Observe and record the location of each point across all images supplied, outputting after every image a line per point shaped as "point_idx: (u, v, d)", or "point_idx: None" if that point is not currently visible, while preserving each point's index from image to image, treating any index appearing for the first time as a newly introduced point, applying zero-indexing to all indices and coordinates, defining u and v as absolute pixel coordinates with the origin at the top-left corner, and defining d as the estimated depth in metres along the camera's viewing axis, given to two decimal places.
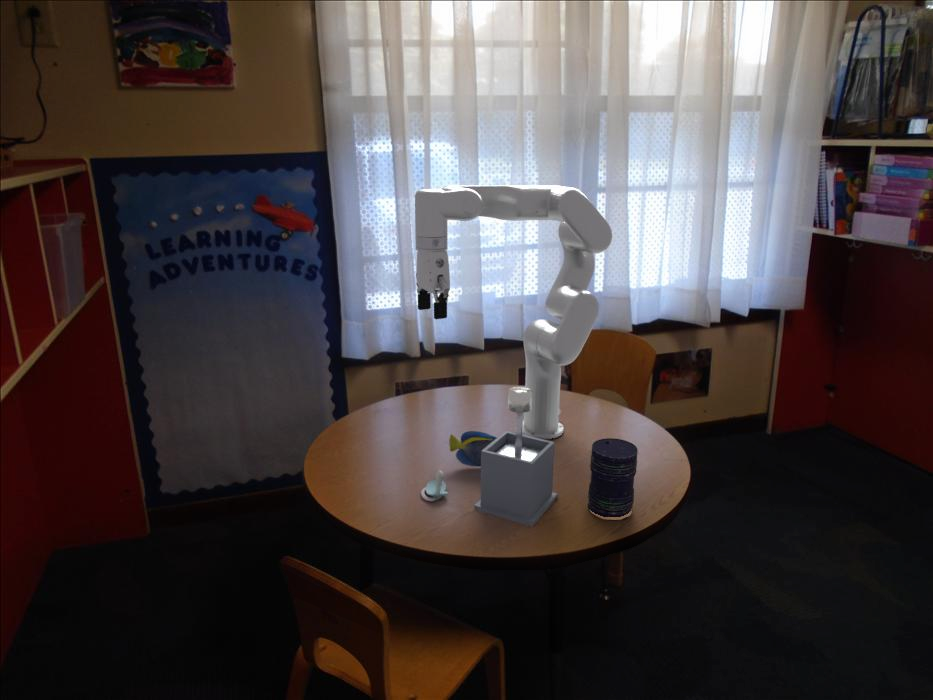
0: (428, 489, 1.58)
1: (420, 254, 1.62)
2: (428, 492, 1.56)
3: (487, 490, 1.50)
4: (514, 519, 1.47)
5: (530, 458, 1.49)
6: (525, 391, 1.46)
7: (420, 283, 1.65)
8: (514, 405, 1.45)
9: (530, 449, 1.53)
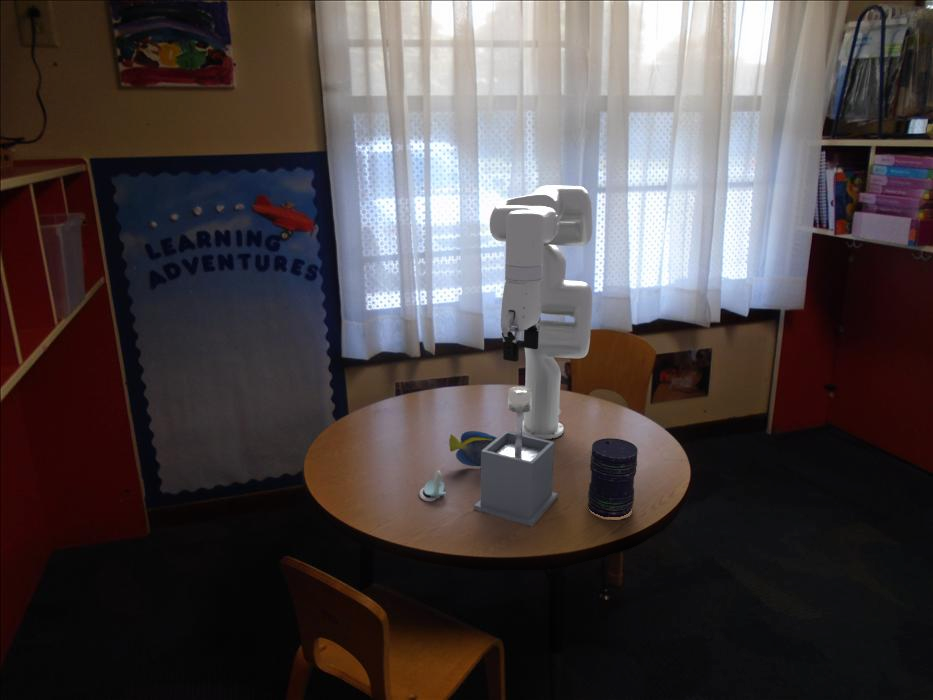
0: (426, 489, 1.58)
1: (533, 287, 1.37)
2: (426, 492, 1.56)
3: (487, 490, 1.50)
4: (514, 519, 1.47)
5: (530, 458, 1.49)
6: (525, 391, 1.46)
7: (527, 323, 1.39)
8: (514, 405, 1.45)
9: (530, 449, 1.53)
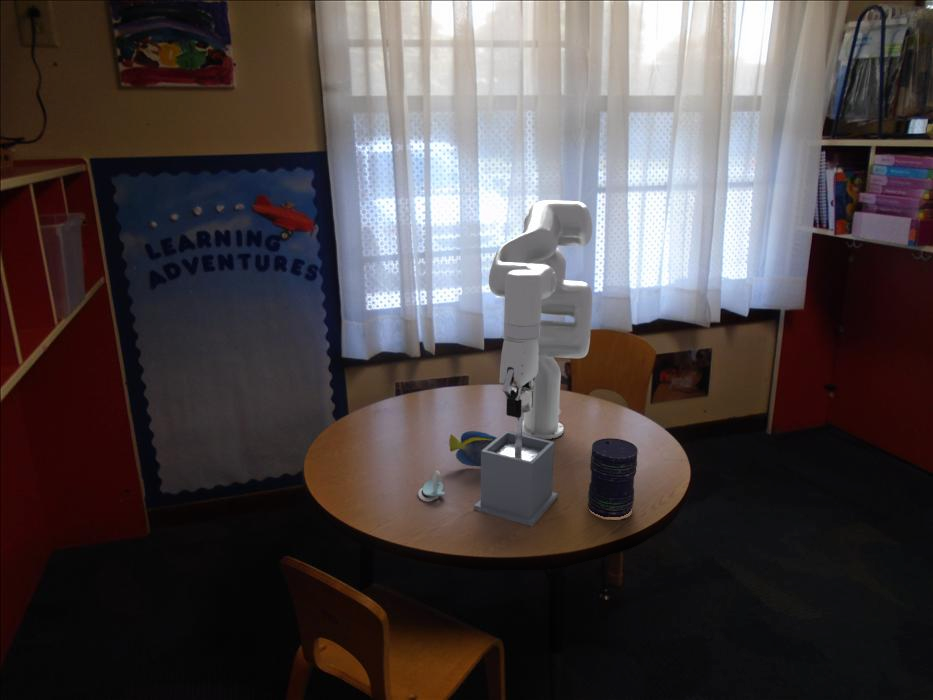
0: (425, 489, 1.58)
1: (531, 344, 1.41)
2: (425, 492, 1.56)
3: (487, 490, 1.50)
4: (514, 519, 1.47)
5: (530, 458, 1.49)
6: (525, 391, 1.46)
7: (526, 379, 1.42)
8: None
9: (530, 449, 1.53)
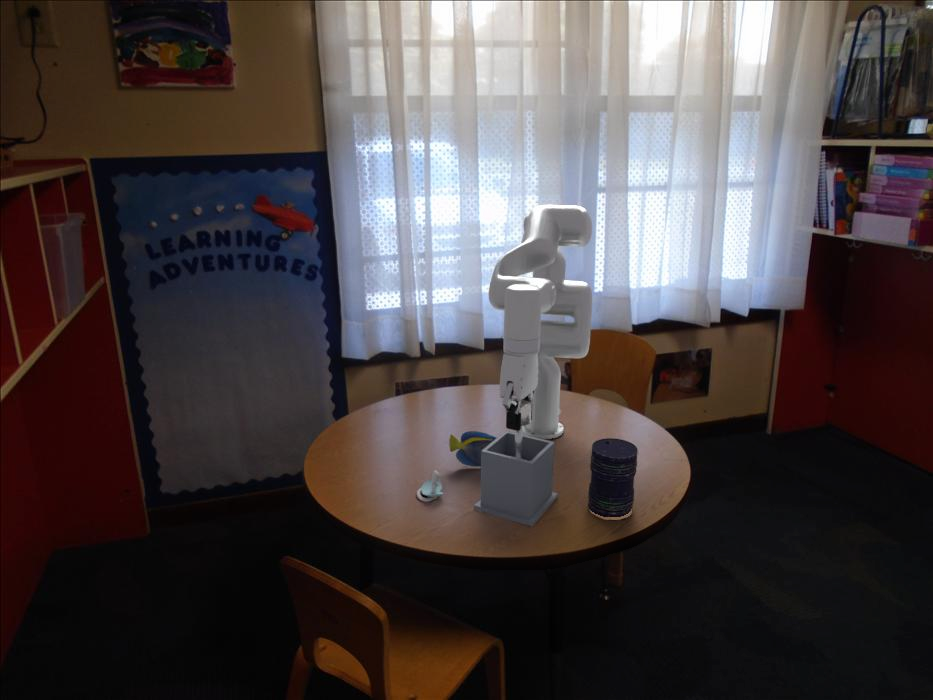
0: (424, 489, 1.58)
1: (530, 358, 1.42)
2: (424, 492, 1.56)
3: (487, 490, 1.50)
4: (514, 519, 1.47)
5: None
6: (524, 404, 1.47)
7: (525, 392, 1.43)
8: None
9: None
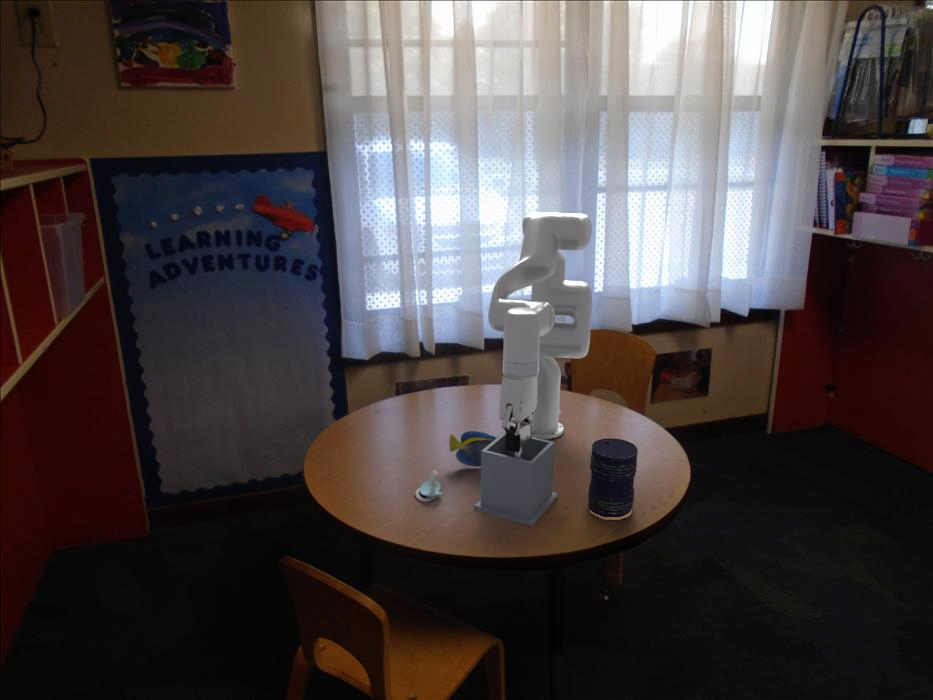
0: (422, 489, 1.58)
1: (530, 381, 1.43)
2: (422, 492, 1.56)
3: (487, 490, 1.50)
4: (514, 519, 1.47)
5: None
6: (523, 425, 1.48)
7: (525, 414, 1.45)
8: None
9: None
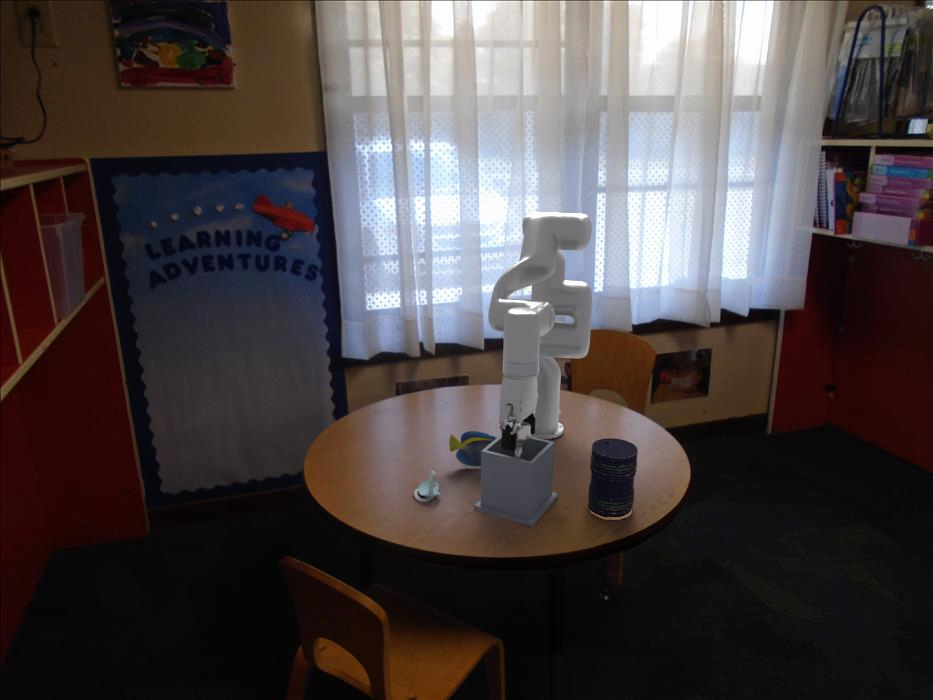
0: (421, 490, 1.57)
1: (530, 381, 1.43)
2: (421, 493, 1.56)
3: (487, 490, 1.50)
4: (514, 519, 1.47)
5: None
6: (523, 426, 1.48)
7: (525, 415, 1.45)
8: None
9: None
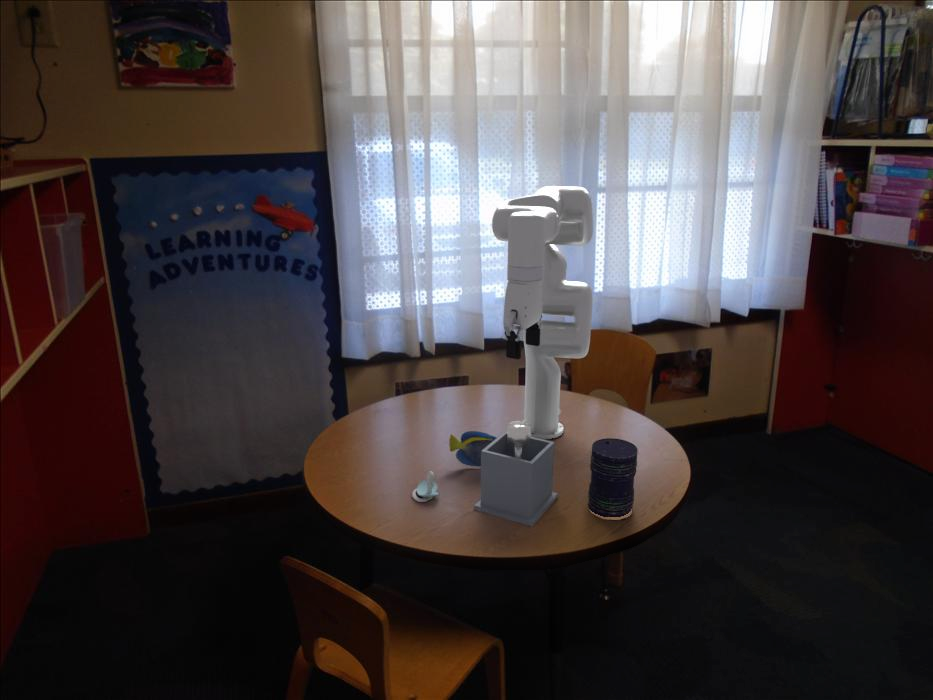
0: (419, 490, 1.57)
1: (534, 287, 1.41)
2: (419, 493, 1.56)
3: (487, 490, 1.50)
4: (514, 519, 1.47)
5: None
6: (523, 426, 1.48)
7: (529, 322, 1.42)
8: (513, 440, 1.47)
9: None
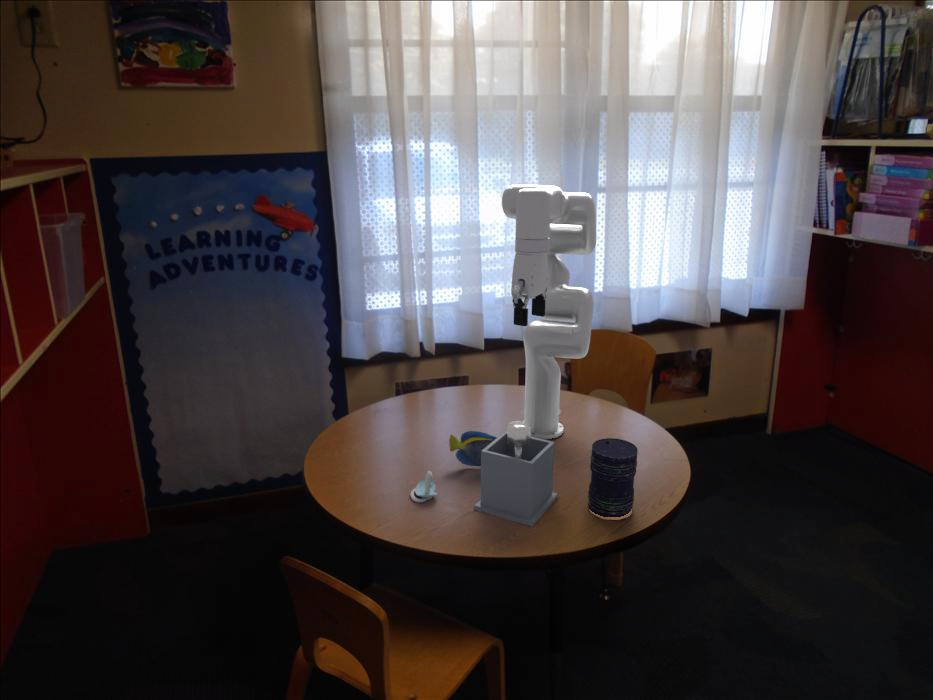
0: (417, 490, 1.57)
1: (540, 258, 1.51)
2: (417, 493, 1.56)
3: (487, 490, 1.50)
4: (514, 519, 1.47)
5: None
6: (523, 426, 1.48)
7: (536, 291, 1.53)
8: (513, 440, 1.47)
9: None
